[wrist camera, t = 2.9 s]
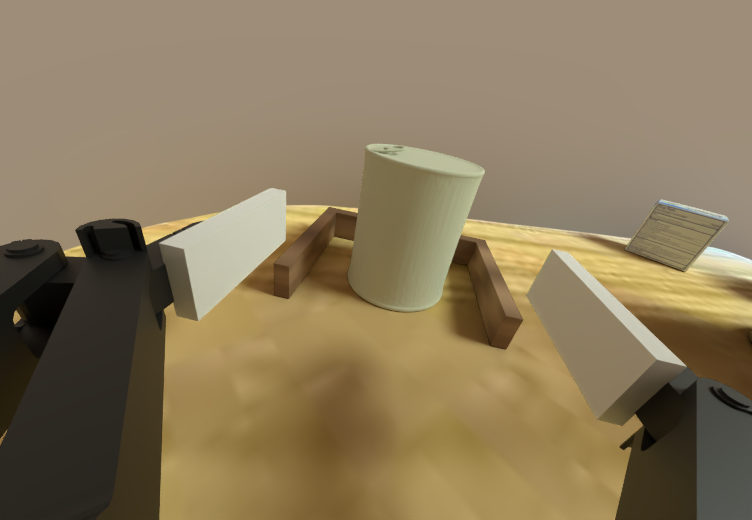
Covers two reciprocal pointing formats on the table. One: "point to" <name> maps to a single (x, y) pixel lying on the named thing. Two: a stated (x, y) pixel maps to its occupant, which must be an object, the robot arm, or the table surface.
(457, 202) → the can
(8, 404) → the robot arm
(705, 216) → the medicine box
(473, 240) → the brown u-shaped rail frame
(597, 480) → the table surface
